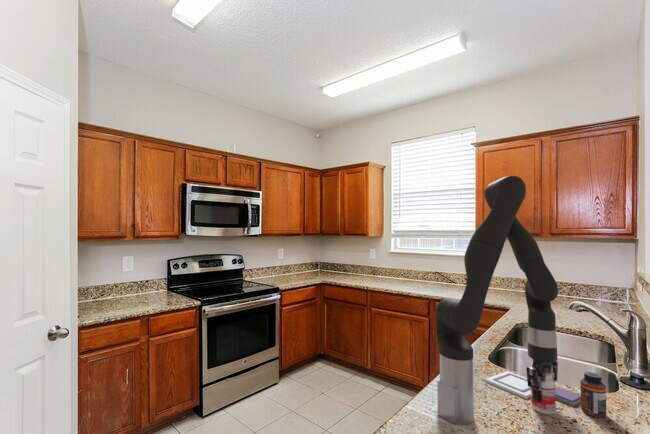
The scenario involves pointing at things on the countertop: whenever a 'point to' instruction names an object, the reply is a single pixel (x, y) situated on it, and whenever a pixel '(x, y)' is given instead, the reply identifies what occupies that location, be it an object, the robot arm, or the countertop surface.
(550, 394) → the pill bottle
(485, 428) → the countertop surface
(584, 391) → the supplement bottle
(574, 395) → the ink pad
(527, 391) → the board
